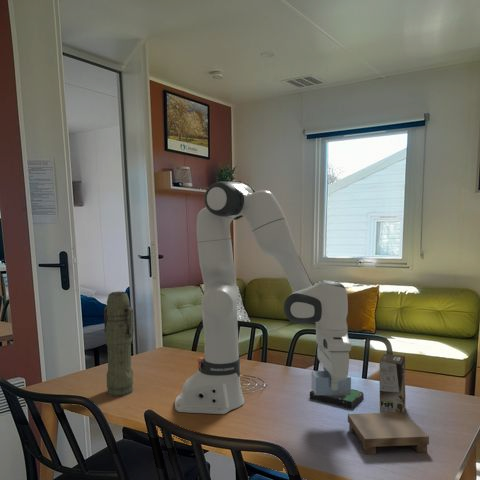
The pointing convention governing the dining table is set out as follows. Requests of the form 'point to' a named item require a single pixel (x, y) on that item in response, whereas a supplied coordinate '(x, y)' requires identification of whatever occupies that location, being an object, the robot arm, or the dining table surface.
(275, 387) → the dining table surface
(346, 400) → the disk drive
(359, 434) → the stand
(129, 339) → the thermos
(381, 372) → the coffee box
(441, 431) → the dining table surface
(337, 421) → the dining table surface
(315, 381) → the block
